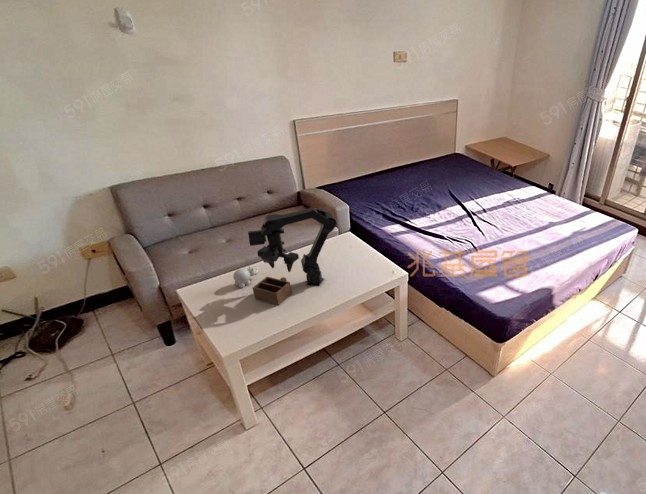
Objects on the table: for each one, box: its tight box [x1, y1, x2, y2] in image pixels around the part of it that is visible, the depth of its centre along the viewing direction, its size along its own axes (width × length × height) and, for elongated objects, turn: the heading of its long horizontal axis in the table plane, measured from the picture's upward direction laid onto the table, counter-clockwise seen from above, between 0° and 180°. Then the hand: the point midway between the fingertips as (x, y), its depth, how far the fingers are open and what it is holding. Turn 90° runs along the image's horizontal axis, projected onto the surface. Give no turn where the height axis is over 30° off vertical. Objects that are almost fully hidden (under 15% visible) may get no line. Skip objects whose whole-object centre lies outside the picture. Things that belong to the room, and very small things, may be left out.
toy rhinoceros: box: [232, 265, 259, 289], centre depth 204 cm, size 7×12×8 cm, turn 144°
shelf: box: [252, 276, 293, 306], centre depth 197 cm, size 14×13×7 cm
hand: (281, 269), depth 198 cm, fingers open, 9 cm apart
